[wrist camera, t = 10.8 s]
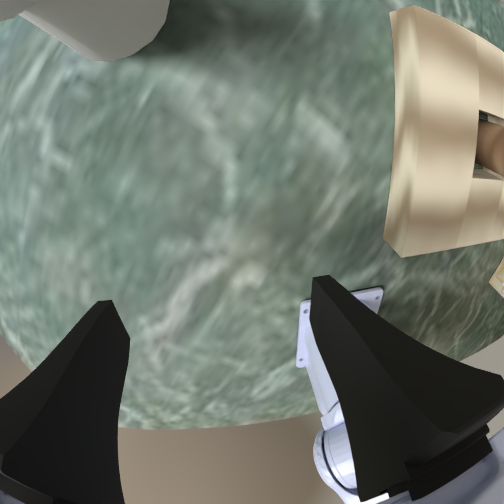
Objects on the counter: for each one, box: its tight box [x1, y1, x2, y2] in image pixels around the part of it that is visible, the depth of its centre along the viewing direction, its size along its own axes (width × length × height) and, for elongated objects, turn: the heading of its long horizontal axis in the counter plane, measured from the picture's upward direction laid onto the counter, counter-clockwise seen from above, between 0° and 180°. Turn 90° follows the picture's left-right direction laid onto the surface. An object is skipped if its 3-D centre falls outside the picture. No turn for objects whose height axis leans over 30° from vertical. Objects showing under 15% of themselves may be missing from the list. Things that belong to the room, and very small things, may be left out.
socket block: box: [383, 5, 504, 258], centre depth 16 cm, size 18×18×3 cm
